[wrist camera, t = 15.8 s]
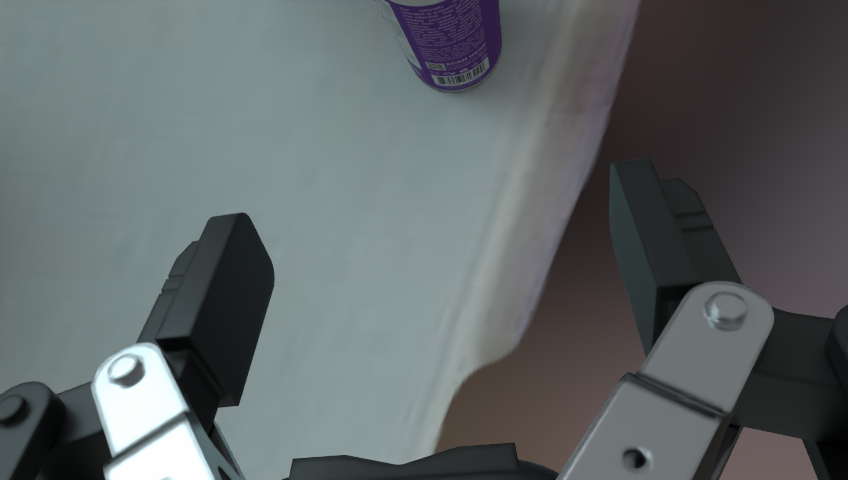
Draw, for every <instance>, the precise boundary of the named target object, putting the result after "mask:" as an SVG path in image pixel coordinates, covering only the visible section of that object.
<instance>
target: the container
mask: <svg viewBox="0 0 848 480" xmlns="http://www.w3.org/2000/svg"><path fill="white" fill-rule="evenodd" d="M375 1H376V3H377V5H378V7H379V9H380V10H381V12H382V14H383V16H384V18H385V20H386V21H387V23H388V25H389V27H390V29H391V30H392V32H393V34H394V36H395V38H396V40H397V41H398V43H399V45H400V47H401V49H402V50H403V52H404V54H405V56H406V58H407V60H408V61H409V63H410V65H411V67H412V69H413V70H414V72H415V73H416V75H417V76H418V77H419V78H420V80H421V81H422V82H424V83H425V84H426V85H428V86H429V87H431V88H433V89H435V90H438V91H441V92H447V93H458V92H464V91H467V90H470V89H472V88H474V87H476V86H478V85H480V84H481V83H482V82H484V81H485V80H486V79H487V78H488V77H489V76H490V75H491V73H492V72H493V71H494V69H495V67H496V65H497V63H498V61H499V58H500V54H501V47H502V39H501V26H500V14H499V2H498V0H375Z"/></svg>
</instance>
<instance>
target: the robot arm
mask: <svg viewBox="0 0 848 480" xmlns="http://www.w3.org/2000/svg"><path fill="white" fill-rule="evenodd" d="M610 229H611V237H612V242H613V247H614V250H615V254H616V257H617V261H618V264H619V267H620V270H621V274H622V277H623V281H624V284H625V288H626V291H627V294H628V298H629V301H630V304H631V308H632V311H633V315H634V318H635V321H636V325H637V328H638V331H639V335H640V338H641V342H642V345H643V348H644V352H645V355H646V359H645V361H644V362H643V364H642V365H641V367H640V369H639V370H638V372H637V373H635V374H632V373H630V372H628V373H626V374H625V375H624V376H623V377H622V378H621V379H620V380H619V382H618V383H617V385H616V386H615V388H614V389H613V391H612V392H611V394H610V395H609V397H608V399H607V400H606V402H605V403H604V405H603V406H602V408H601V410H600V411H599V413H598V414H597V416H596V417H595V419H594V421H593V422H592V424H591V425H590V427H589V428H588V430H587V432H586V433H585V435H584V436H583V438H582V440H581V441H580V443H579V444H578V446H577V447H576V449H575V451H574V452H573V454H572V455H571V457H570V458H569V460H568V461H567V463H566V465H565V466H564V468H563V469H562V471H561V472H560V474H559V473H557V472H555V471H553V470H551V469H548V468H546V467H544V466H541V465H538V464H535V463H532V462H528V461H522V460H518V458H517V453H516V447H515V443H503V444H489V445H476V446H463V447H456V448H453V449H449V450H446V451H443V452H440V453H437V454H434V455H431V456H428V457H425V458H422V459H418V460H415V461H412V462H409V463H406V464H402V465H395V464H389V463H384V462H379V461H374V460H368V459H363V458H358V457H353V456H348V455H338V456H324V457H311V458H297V459H293V461H292V465H291V470H290V475H289V477H288V478H285V479H282V480H719V478H720V476H721V474H722V472H723V469H724V467H725V465H726V463H727V461H728V459H729V457H730V455H731V452H732V450H733V448H734V446H735V444H736V442H737V440H738V438H739V435H740V433H741V431H742V429H743V427H748V428H753V429H758V430H762V431H767V432H772V433H777V434H782V435H787V436H791V437H796V438H801V439H802V440H803V443H804V445H805V448H806V450H807V453H808V455H809V458H810V460H811V463H812V465H813V468H814V470H815V473H816V475H817V478H818V480H848V305H847V306H845V307H844V308H842V309H841V310H840V311H839V312H838V313H837V315H836V317H835V319H830V318H823V317H816V316H809V315H802V314H795V313H790V312H785V311H782V310H779V309H776V308H774V307H771V306H770V304H769V303H768V301H767V300H766V299H765V298H764V297H763V296H762V295H761V294H759V293H758V292H756V291H755V290H753V289H751V288H749V287H747V286H744V285H743V283H742V282H741V280H740V278H739V275H738V273H737V271H736V269H735V268H734V265H733V263H732V261H731V259H730V257H729V255H728V253H727V251H726V249H725V247H724V245H723V243H722V241H721V239H720V237H719V235H718V233H717V231H716V229H714V227H713V223H712V221H711V219H710V217H709V215H708V214H707V213H706V209H705V207H704V205H703V203H702V201H701V199H700V197H699V195H698V193H697V192H696V191H695V190H693V189H692V188H691V187H689V186H688V185H687V184H685V183H684V182H683V181H682V180H680V179H679V178H677V179H670V180H662V181H660V180H659V178H658V175H657V173H656V171H655V169H654V166H653V164H652V162H651V160H650V158H642V159H634V160H627V161H619V162H612V163H611V167H610ZM168 277H169V279H166V282H165V284H164V286H163V288H162V290H161V291H162V294H159V296H158V298H157V300H156V302H155V304H154V307H153V309H152V311H151V313H150V315H149V317H148V319H147V321H146V323H145V325H144V327H143V329H142V331H141V334H140V336H139V338H138V340H137V342H136V343H135V344H132V345H129V346H126V347H124V348H122V349H120V350H118V351H117V352H115V353H114V354H112V355H111V356H110V357H109V358H107V359H106V360H105V361H104V362H103V363H102V365H101V366H100V367H99V368H98V370H97V371H96V373H95V375H94V377H93V380H92V381H91V382H88V383H85V384H83V385H80V386H77V387H75V388H72V389H69V390H67V391H64V392H61V393H59V394H55V393H54V392H53V391H52V390H51V389H50V388H49V387H48V386H47V385H45V384H44V383H41V382H36V381H33V382H26V383H22V384H19V385H17V386H15V387H12V388H10V389H9V390H7V391H5V392H4V393H2V394H1V395H0V480H246V479H245V477H244V475H243V473H242V471H241V469H240V467H239V465H238V463H237V461H236V459H235V457H234V455H233V453H232V451H231V449H230V447H229V445H228V443H227V441H226V439H225V437H224V436H223V434H222V432H221V430H220V428H219V426H218V425H217V423H216V422H215V420H214V418H215V415H216V412H217V409H218V408H219V407H230V406H239V403H240V399H241V396H242V393H243V389H244V386H245V383H246V379H247V376H248V372H249V369H250V366H251V362H252V359H253V355H254V352H255V349H256V345H257V342H258V338H259V335H260V332H261V328H262V325H263V321H264V318H265V315H266V311H267V308H268V305H269V301H270V298H271V294H272V291H273V287H274V279H275V278H274V268H273V264H272V261H271V259H270V257H269V255H268V253H267V251H266V249H265V247H264V245H263V243H262V241H261V239H260V237H259V235H258V233H257V231H256V229H255V227H254V225H253V223H252V221H251V219H250V217H249V216H248V215H247V214H246V213H236V214H229V215H222V216H214V217H211V218H210V219H209V220H208V222H207V224H206V226H205V228H204V231H203V233H202V235H201V237H200V239H199V241H193V242H192V243H191V244H190V245H189V246H188V247H187V248H186V249H185V250H184V251H183V252H182V253H181V254H180V255H179V256H178V257H177V259H176V261H175V263H174V265H173V267H172V269H171V271H170V273H169V275H168Z"/></svg>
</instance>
